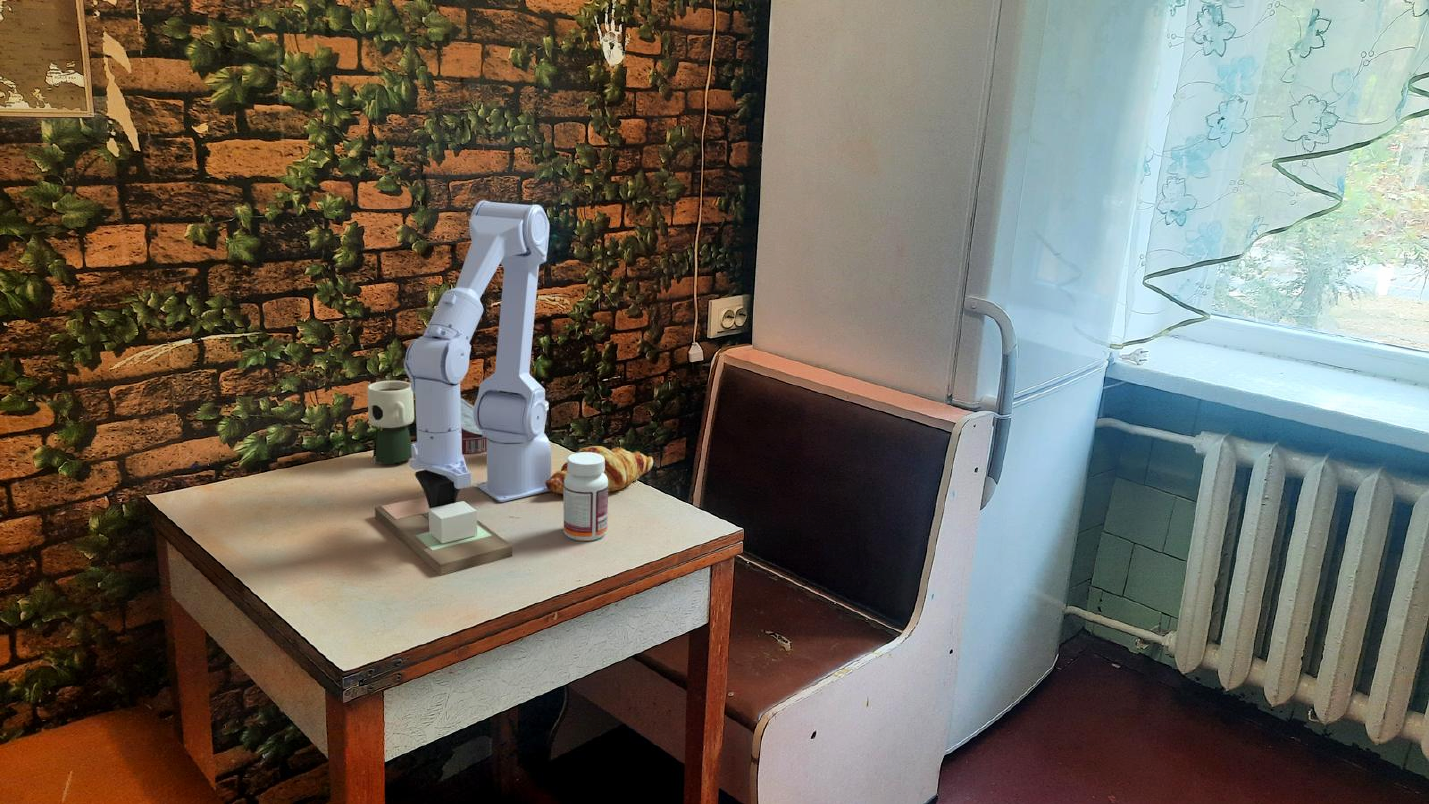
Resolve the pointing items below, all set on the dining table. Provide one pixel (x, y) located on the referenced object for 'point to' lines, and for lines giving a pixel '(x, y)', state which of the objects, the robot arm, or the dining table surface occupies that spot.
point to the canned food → (471, 432)
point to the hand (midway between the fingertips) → (442, 521)
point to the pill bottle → (585, 497)
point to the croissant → (609, 468)
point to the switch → (443, 557)
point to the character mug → (391, 420)
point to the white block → (452, 522)
